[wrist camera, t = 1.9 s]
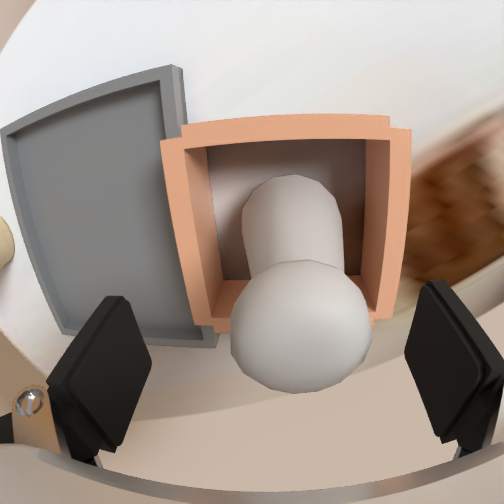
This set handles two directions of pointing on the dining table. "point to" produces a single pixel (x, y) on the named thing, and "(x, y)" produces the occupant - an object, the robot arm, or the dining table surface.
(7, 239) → the candle
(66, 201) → the tray
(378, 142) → the open container
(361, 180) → the dining table surface
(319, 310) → the salt shaker
